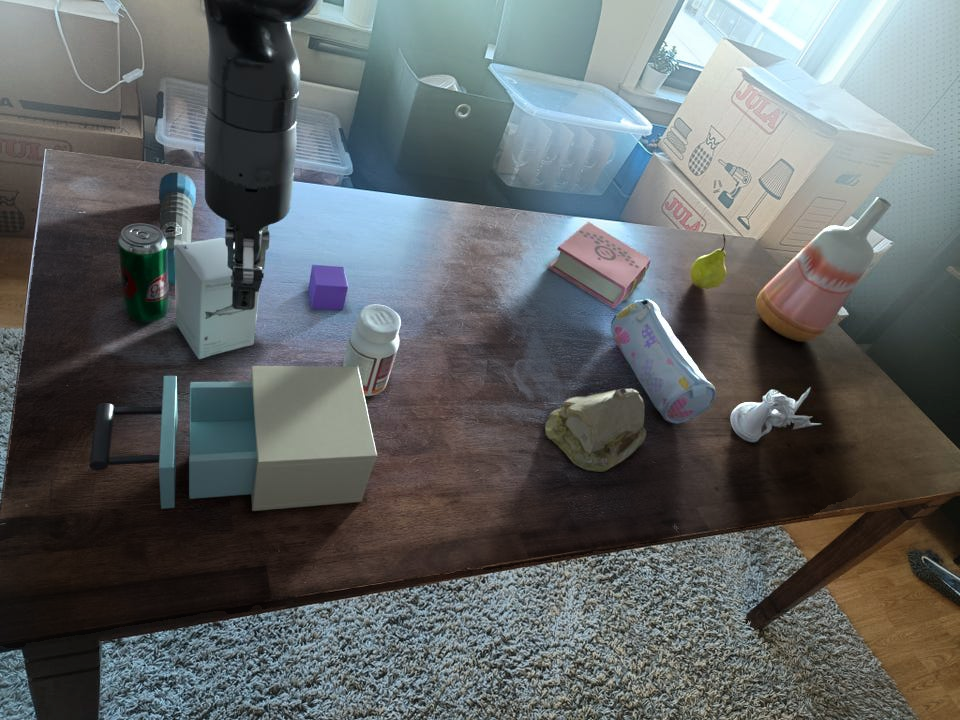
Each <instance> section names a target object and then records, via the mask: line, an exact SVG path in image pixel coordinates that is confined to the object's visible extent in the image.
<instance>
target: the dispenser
mask: <svg viewBox="0 0 960 720" xmlns="http://www.w3.org/2000/svg"><path fill="white" fill-rule="evenodd" d="M249 382H252V390H253V404H254V419H255V434H256V449H257V467H256V476H255V484H254V492H253V494H250V497H251V510H252V512H256V511H257V512H258V511H259V512H260V511H269V510H279V509H281V510H282V509H291V508H293V509H294V508H303V507H316V506H328V505H339V504H351V503H352V504H353V503H361V502H362V501H363V499H364V496H365V493H366V490H367V487H368V484H369V481H370V478H371V475H372V471H373V470H374V469H373V468H374V466H375V463H376V459H377V457H378V453H377V449H376V444H375V440H374V434H373V431H372V430H373V429H372V425H371V420H370V416H369V411H368V406H367V402H366V396H364V393H363V388H362V383H361V379H360V374H359V369H358V367H343V366H336V365H335V366H332V365H331V366H329V365H327V366H326V365H325V366H321V365H320V366H319V365H317V366H315V365H314V366H313V365H312V366H309V365H307V366H305V365H304V366H302V365H297V366H295V365H294V366H293V365H291V366H290V365H287V366H286V365H285V366H284V365H251V369H250V379H249Z"/></svg>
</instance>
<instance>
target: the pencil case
mask: <svg viewBox="0 0 960 720" xmlns="http://www.w3.org/2000/svg"><path fill="white" fill-rule="evenodd" d="M609 329H610V334H611V335H612V339H613V342H614V344H616V346H617V347H618V349H619V350H620V352H621V354H622V356H623V357H624V359H625V360H626V362H628V364H629V365H630V368H631V370H632V372H633V373H634V375H635V377H636V378H637V380H638V382H639V383H640V385H641V387H642V389H644V391H645V393H646V394H647V396H648V398H649V399H650V401H651V403H652V405H653V406H654V407H655V409H656V410H657V411H658V412H659V413H660V415H661V417H662V418H663V419H664V420H665V422H668V423H672V424H675V425H676V424H677V425H678V424H682V423H684V422H687V421H688V420H691V419H693V418H696V417H698V416H700V415H702V414H703V413H705V412H706V411H707V410H709V409H710V408H711V407H712V405H713V404H714V402H715V400H716V398H717V397H716V396H717V391H716V388H715V386H714V384H713V383H711V382H710V381H708V380H707V378H706V377H705V376H704V374H703V373H702V371H700V369H699V367H698V365H697V364H696V363H695V361H694V360H693V358H692V357H691V356H690V355H689V353H688V352H687V349H686V348H685V346H683V344H682V342H681V341H680V340H679V339H678V338H677V336H676V335H675V333H674V332H673V330H672V328H671V326H670V325H669V322H667V321H666V319H665V318H664V317H663V316H662V313H661V310H660V307H659V306H658V305H657V303H655V302H654V301H653V300H651V299H648V298H643V299H642V300H641V299H640V300H639V299H637V300H633V301H632V303H630V304H628V305H627V306H626V307H624V308H623V309H622V310H621V311H620V312H616V313H615V315H614V316H613V318H612V319H611V322H610V328H609Z"/></svg>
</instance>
